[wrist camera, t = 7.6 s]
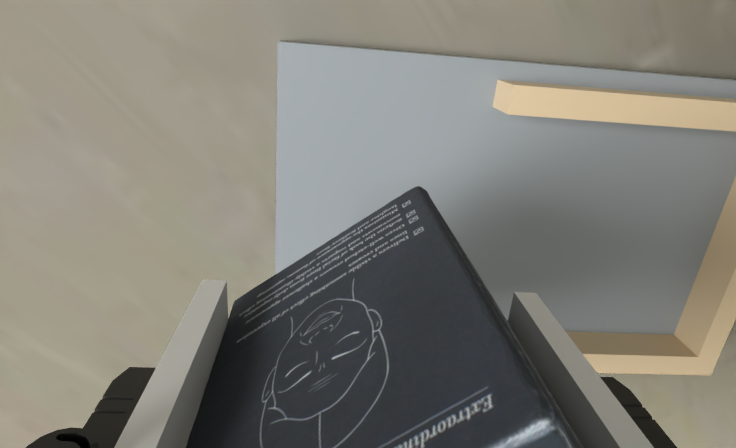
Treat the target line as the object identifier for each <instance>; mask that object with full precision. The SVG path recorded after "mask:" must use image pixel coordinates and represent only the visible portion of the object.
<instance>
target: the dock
mask: <svg viewBox="0 0 736 448" xmlns="http://www.w3.org/2000/svg"><path fill="white" fill-rule="evenodd" d="M417 186H419V187H422V188H423V189H425V190H426V191H427V192H428V194H429V196H430V198H431V200H432V201H433V203H434V204H435V206H436V208H437V209H438V211H439V212H440V214H441V215H442V217H443V218H444V220H445V222H446V223H447V225H448V226H449V228H450V230H451V231H452V233H453V234H454V236H455V238H456V239H457V241H458V242H459V244H460V245H461V247H462V249H463V250H464V252H465V253H466V255H467V257H468V258H469V260H470V261H471V263H472V265H473V266H474V268H475V269H476V271H477V272H478V274H479V276H480V278H481V279H482V281H483V282H484V284H485V286H486V287H487V289H488V290H489V292H490V294H491V295H492V297H493V298H494V300H495V302H496V303H497V305H498V307H499V308H500V310H501V312H502V313H503V315H504V317H505V318H506V320H507V321H508V317H509V312H510V308H511V304H512V299H513V295H514V292H528V293H536V294H537V295H538V296H539V297H540V299H541V300H542V301H543V303H544V304H545V305H546V307H547V308H548V309H549V311H550V312H551V313H552V315H553V316H554V317H555V318H556V320H557V321H558V322H559V324H560V325H561V326H562V328H563V329H564V330H565V332H566V333H567V334H568V336H569V337H570V338H571V339H572V341H573V342H574V343H575V345H576V346H577V347H578V349H579V350H580V351H581V353H582V354H583V355H584V357H585V358H586V359H587V360H588V362H589V363H590V364H591V366H592V367H593V368H594V370H595V371H596V372H597V373H628V374H671V375H711V374H712V372H713V370H714V367H715V365H716V363H717V360H718V358H719V356H720V354H721V351H722V349H723V347H724V345H725V342H726V340H727V338H728V336H729V333H730V331H731V329H732V327H733V324H734V322H735V320H736V79H724V78H712V77H701V76H689V75H677V74H666V73H654V72H642V71H631V70H619V69H607V68H596V67H584V66H573V65H561V64H549V63H538V62H526V61H514V60H503V59H491V58H479V57H468V56H456V55H444V54H433V53H421V52H409V51H398V50H386V49H374V48H363V47H351V46H339V45H328V44H316V43H304V42H293V41H278V68H277V162H276V256H275V275H276V274H277V273H279V272H280V271H282V270H284V269H285V268H287V267H288V266H290V265H291V264H293V263H295V262H296V261H298V260H299V259H301V258H302V257H304V256H305V255H307V254H309V253H310V252H312V251H313V250H315V249H317V248H318V247H320V246H322V245H323V244H325V243H326V242H328V241H329V240H331V239H332V238H334V237H336V236H337V235H339V234H340V233H342V232H343V231H345V230H347V229H348V228H350V227H351V226H353V225H354V224H356V223H358V222H359V221H361V220H362V219H364V218H366V217H367V216H369V215H370V214H372V213H374V212H375V211H377V210H378V209H380V208H382V207H383V206H385V205H386V204H388V203H389V202H391V201H392V200H394V199H396V198H397V197H399V196H401V195H402V194H404V193H405V192H407V191H409V190H410V189H412V188H414V187H417Z"/></svg>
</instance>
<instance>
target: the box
mask: <svg viewBox="0 0 736 448" xmlns="http://www.w3.org/2000/svg"><path fill="white" fill-rule="evenodd" d="M186 448H584V447H583V445H582V443H581V442H580V440H579V439H578V437H577V435H576V434H575V432H574V430H573V429H572V427H571V426H570V424H569V422H568V421H567V419H566V417H565V416H564V414H563V412H562V411H561V409H560V407H559V406H558V404H557V403H556V401H555V400H554V398H553V396H552V394H551V393H550V391H549V390H548V388H547V386H546V385H545V383H544V381H543V380H542V378H541V376H540V375H539V373H538V371H537V370H536V368H535V366H534V365H533V363H532V362H531V360H530V358H529V357H528V355H527V353H526V352H525V350H524V348H523V347H522V345H521V343H520V342H519V340H518V338H517V337H516V335H515V333H514V332H513V330H512V328H511V327H510V325H509V323H508V322H507V320H506V318H505V317H504V315H503V313H502V312H501V310H500V308H499V307H498V305H497V303H496V302H495V300H494V298H493V297H492V295H491V294H490V292H489V290H488V289H487V287H486V286H485V284H484V282H483V281H482V279H481V278H480V276H479V274H478V272H477V271H476V269H475V268H474V266H473V265H472V263H471V261H470V260H469V258H468V257H467V255H466V253H465V252H464V250H463V249H462V247H461V245H460V244H459V242H458V241H457V239H456V238H455V236H454V234H453V233H452V231H451V230H450V228H449V226H448V225H447V223H446V222H445V220H444V218H443V217H442V215H441V214H440V212H439V211H438V209H437V208H436V206H435V204H434V203H433V201H432V200H431V198H430V196H429V194H428V192H427V191H426V190H425V189H423V188H422V187H419V186H417V187H414V188H412V189H410V190H409V191H407V192H405V193H404V194H402V195H401V196H399V197H397V198H396V199H394V200H392V201H391V202H389V203H388V204H386V205H385V206H383V207H382V208H380V209H378V210H377V211H375V212H374V213H372V214H370V215H369V216H367V217H366V218H364V219H362V220H361V221H359V222H358V223H356V224H354V225H353V226H351V227H350V228H348V229H347V230H345V231H343V232H342V233H340V234H339V235H337V236H336V237H334V238H332V239H331V240H329V241H328V242H326V243H325V244H323V245H322V246H320V247H318V248H317V249H315V250H313V251H312V252H310V253H309V254H307V255H305V256H304V257H302V258H301V259H299V260H298V261H296V262H295V263H293V264H291V265H290V266H288V267H287V268H285V269H284V270H282V271H280V272H279V273H277V274H276V275H274V276H273V277H271V278H270V279H268V280H266V281H265V282H263V283H262V284H260V285H258V286H257V287H255V288H254V289H252V290H250V291H249V292H247V293H246V294H244V295H243V296H241V297H240V298H238V299H237V300H235V302H234V304H233V307H232V310H231V313H230V317H229V319H228V323H227V326H226V329H225V332H224V334H223V338H222V341H221V344H220V347H219V349H218V353H217V355H216V358H215V361H214V364H213V367H212V370H211V373H210V376H209V380H208V382H207V385H206V388H205V391H204V394H203V397H202V400H201V403H200V406H199V409H198V412H197V416H196V418H195V421H194V424H193V427H192V430H191V432H190V435H189V438H188V442H187V446H186Z"/></svg>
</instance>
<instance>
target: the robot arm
mask: <svg viewBox="0 0 736 448" xmlns="http://www.w3.org/2000/svg"><path fill="white" fill-rule="evenodd" d="M507 322H508V323H509V325H510V327H511V328H512V330H513V332H514V333H515V335H516V337H517V338H518V340H519V342H520V343H521V345H522V347H523V348H524V350H525V352H526V353H527V355H528V357H529V358H530V360H531V362H532V363H533V365H534V366H535V368H536V370H537V371H538V373H539V375H540V376H541V378H542V380H543V381H544V383H545V385H546V386H547V388H548V390H549V391H550V393H551V394H552V396H553V398H554V400H555V401H556V403H557V404H558V406H559V407H560V409H561V411H562V412H563V414H564V416H565V417H566V419H567V421H568V422H569V424H570V426H571V427H572V429H573V430H574V432H575V434H576V435H577V437H578V439H579V440H580V442H581V443H582V445H583V447H584V448H677V447H676V446H675V445H674V443H673V442H672V441H671V440H670V438H669V437H668V436H667V435H666V434H665V432H664V431H663V430H662V429H661V427H660V426H659V425H658V424H657V422H656V421H655V420H652V416H651V415H650V414H649V413H648V411H647V410H646V409H645V408H642V404H641V403H640V402H639V400H638V399H637V398H636V397H635V396H634V394H633V393H632V392H631V391H630V390H629V389H628V388H626V387H625V386H624V385H622V384H621V383H620V382H618V381H617V380H616V379H614V378H613V377H600V376H599V375H598V374H597V372H596V371H595V370H594V368H593V367H592V366H591V364H590V363H589V362H588V360H587V359H586V358H585V357H584V355H583V354H582V353H581V351H580V350H579V349H578V347H577V346H576V345H575V343H574V342H573V341H572V339H571V338H570V337H569V336H568V334H567V333H566V332H565V330H564V329H563V328H562V326H561V325H560V324H559V322H558V321H557V320H556V318H555V317H554V316H553V315H552V313H551V312H550V311H549V309H548V308H547V307H546V305H545V304H544V303H543V301H542V300H541V299H540V297H539V296H538V295H537V294H536V293H528V292H514V295H513V299H512V304H511V308H510V312H509V317H508V321H507ZM227 323H228V304H227V280H202V281H201V283H200V285H199V286H198V288H197V290H196V292H195V294H194V296H193V298H192V300H191V302H190V304H189V306H188V307H187V309H186V311H185V313H184V315H183V317H182V319H181V321H180V323H179V325H178V327H177V328H176V330H175V332H174V334H173V336H172V338H171V340H170V342H169V344H168V346H167V348H166V350H165V351H164V353H163V355H162V357H161V359H160V361H159V363H158V365H157V367H156V368H140V367H129V368H128V369H127V370H126V371H124V372H123V373H122V374H121V375H119V376H118V377H117V378H116V379H114V380H113V381H112V383H111V384H110V386H109V388H108V389H107V391H106V392H105V394H104V396H103V399H102V400H100V402H99V403H98V405H97V407H96V408H95V412H94V413H92V415H91V416H90V418H89V419H88V421H87V423H86V424H85V426H84V427H83V429H81V428H67V429H61V430H56V431H54V432H51V433H49V434H47V435H44V436H42V437H40V438H39V439H37V440H36V441H34V442H33V443H31V444H30V445H28V446H27V447H26V448H186V446H187V442H188V438H189V435H190V432H191V430H192V427H193V424H194V421H195V418H196V416H197V412H198V409H199V406H200V403H201V400H202V397H203V394H204V391H205V388H206V385H207V382H208V380H209V376H210V373H211V370H212V367H213V364H214V361H215V358H216V355H217V353H218V349H219V347H220V344H221V341H222V338H223V334H224V332H225V329H226V326H227Z"/></svg>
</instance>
